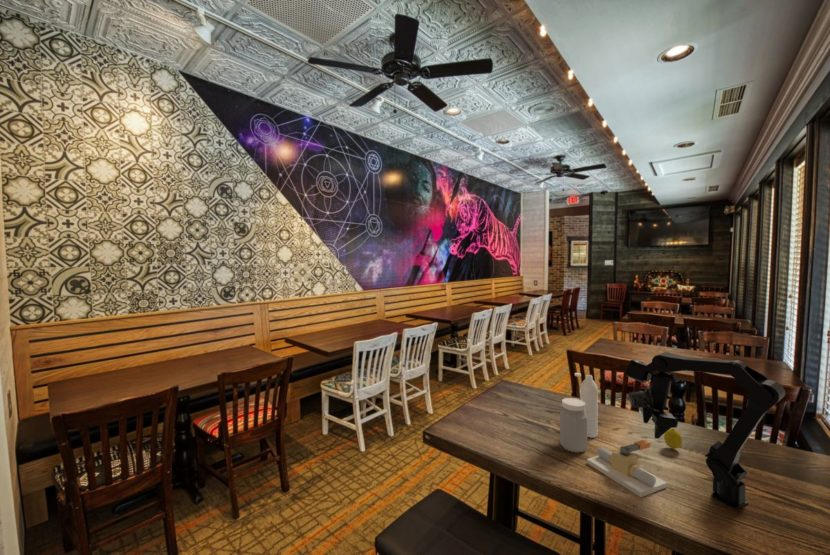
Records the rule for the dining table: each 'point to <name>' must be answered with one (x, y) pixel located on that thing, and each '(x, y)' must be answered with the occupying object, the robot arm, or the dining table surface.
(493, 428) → the dining table surface
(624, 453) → the lever
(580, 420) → the jar
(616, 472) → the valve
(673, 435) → the lemon
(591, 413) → the water bottle
